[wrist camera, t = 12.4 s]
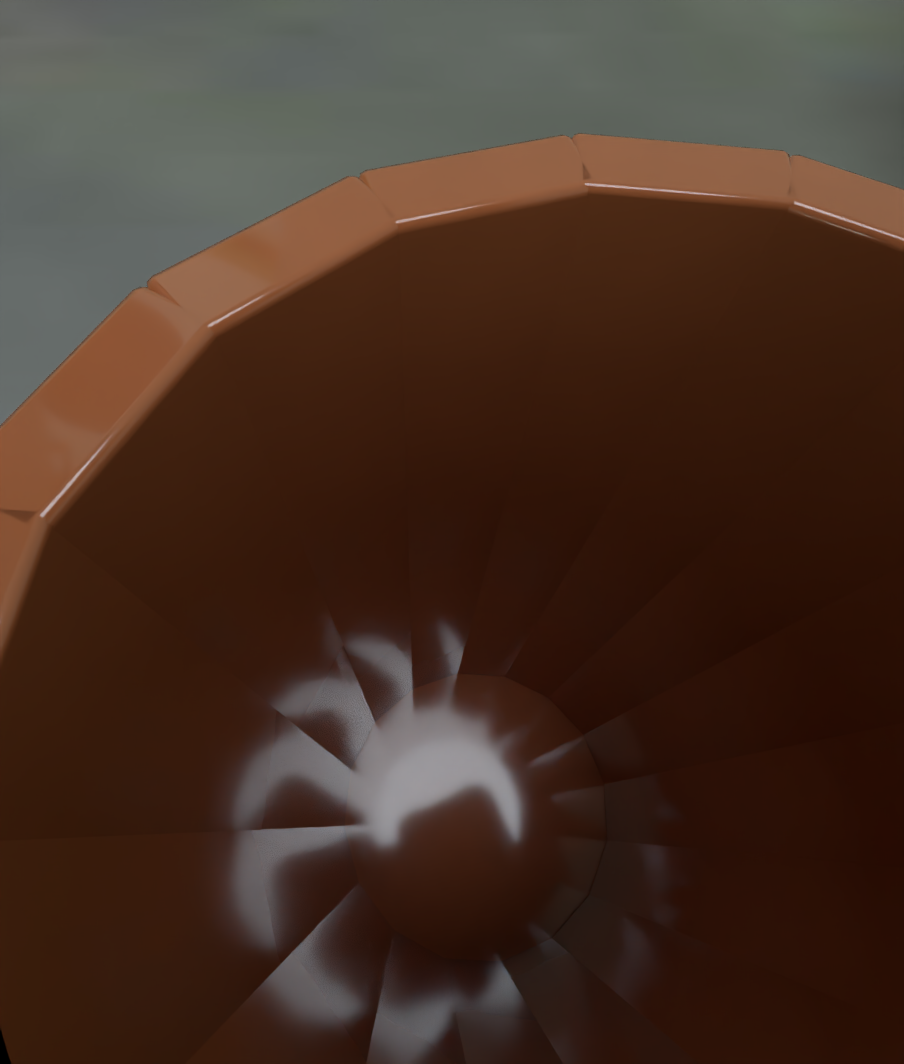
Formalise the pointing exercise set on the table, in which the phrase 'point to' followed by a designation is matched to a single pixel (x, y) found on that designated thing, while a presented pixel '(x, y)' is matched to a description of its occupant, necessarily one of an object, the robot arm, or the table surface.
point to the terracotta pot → (470, 629)
